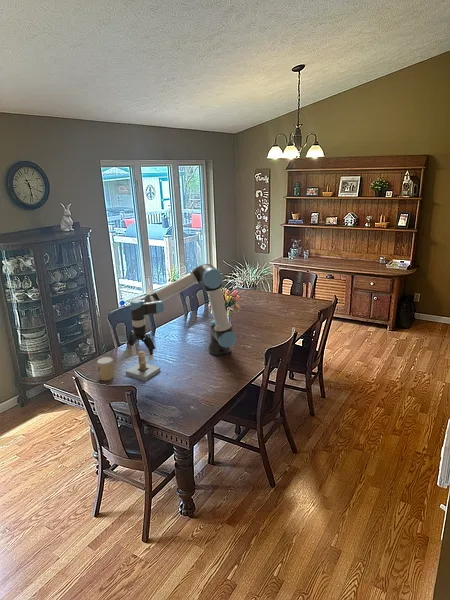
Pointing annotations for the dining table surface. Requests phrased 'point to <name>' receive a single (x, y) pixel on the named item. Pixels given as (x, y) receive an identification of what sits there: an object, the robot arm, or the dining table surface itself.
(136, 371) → the board
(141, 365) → the beech peg
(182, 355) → the dining table surface
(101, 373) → the coffee cup
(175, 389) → the dining table surface
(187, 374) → the dining table surface
